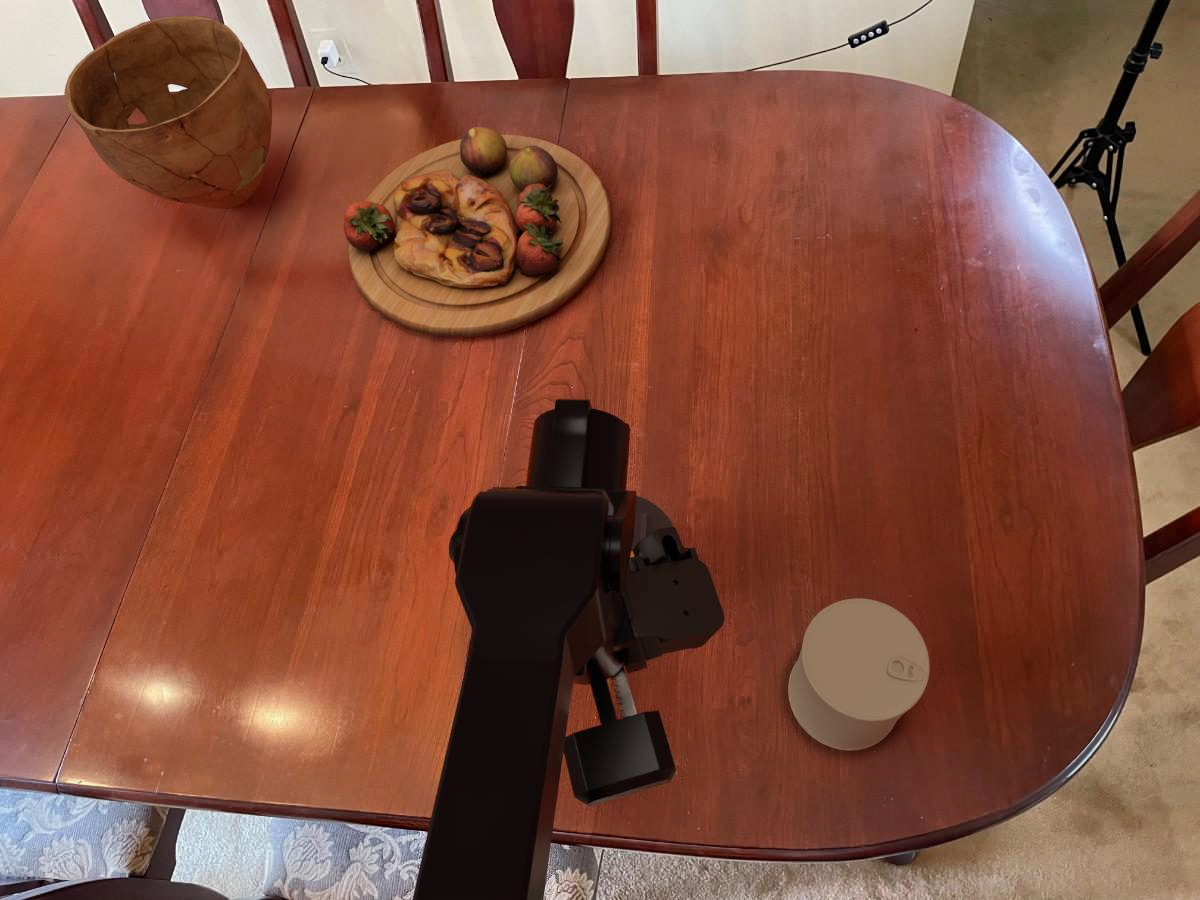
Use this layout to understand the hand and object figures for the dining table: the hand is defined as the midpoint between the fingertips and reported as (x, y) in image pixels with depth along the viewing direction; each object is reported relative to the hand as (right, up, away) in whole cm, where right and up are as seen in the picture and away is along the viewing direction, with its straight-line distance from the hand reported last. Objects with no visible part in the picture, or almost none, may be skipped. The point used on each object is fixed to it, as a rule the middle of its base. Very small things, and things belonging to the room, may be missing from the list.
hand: (602, 671), depth 62 cm
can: (+21, -5, +11) cm, 24 cm away
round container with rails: (+2, +3, +17) cm, 18 cm away
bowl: (-48, +49, +50) cm, 84 cm away
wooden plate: (-15, +42, +42) cm, 61 cm away
